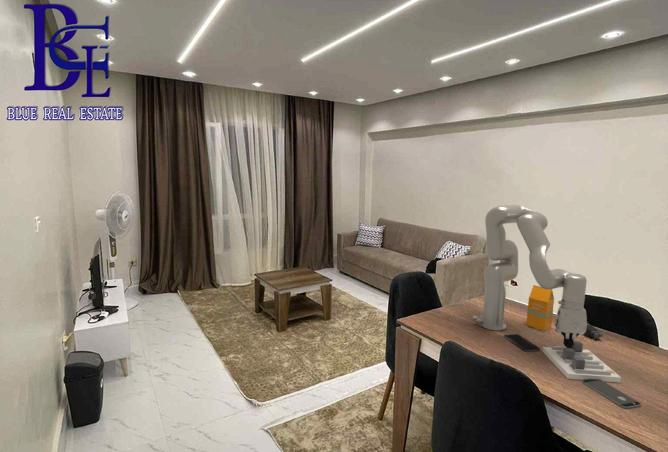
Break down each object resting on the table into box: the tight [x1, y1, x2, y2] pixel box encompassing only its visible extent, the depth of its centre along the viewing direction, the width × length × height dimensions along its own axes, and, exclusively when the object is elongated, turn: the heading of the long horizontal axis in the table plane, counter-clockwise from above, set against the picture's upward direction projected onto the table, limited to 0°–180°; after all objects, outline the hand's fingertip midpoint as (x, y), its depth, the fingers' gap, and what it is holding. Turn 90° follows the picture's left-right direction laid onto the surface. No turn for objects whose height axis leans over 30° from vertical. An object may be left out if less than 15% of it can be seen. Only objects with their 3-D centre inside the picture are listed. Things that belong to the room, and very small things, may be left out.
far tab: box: [572, 340, 584, 352], centre depth 149 cm, size 3×3×4 cm
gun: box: [583, 322, 604, 340], centre depth 175 cm, size 4×20×10 cm, turn 10°
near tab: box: [572, 357, 585, 370], centre depth 136 cm, size 3×3×4 cm
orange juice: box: [526, 285, 555, 332], centre depth 179 cm, size 8×9×20 cm
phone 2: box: [581, 379, 642, 410], centre depth 125 cm, size 8×1×16 cm
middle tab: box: [562, 348, 575, 360], centre depth 143 cm, size 3×3×4 cm
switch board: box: [541, 345, 622, 384], centre depth 143 cm, size 18×21×3 cm
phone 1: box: [503, 333, 541, 353], centre depth 162 cm, size 8×1×15 cm
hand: (567, 346), depth 149 cm, fingers closed
